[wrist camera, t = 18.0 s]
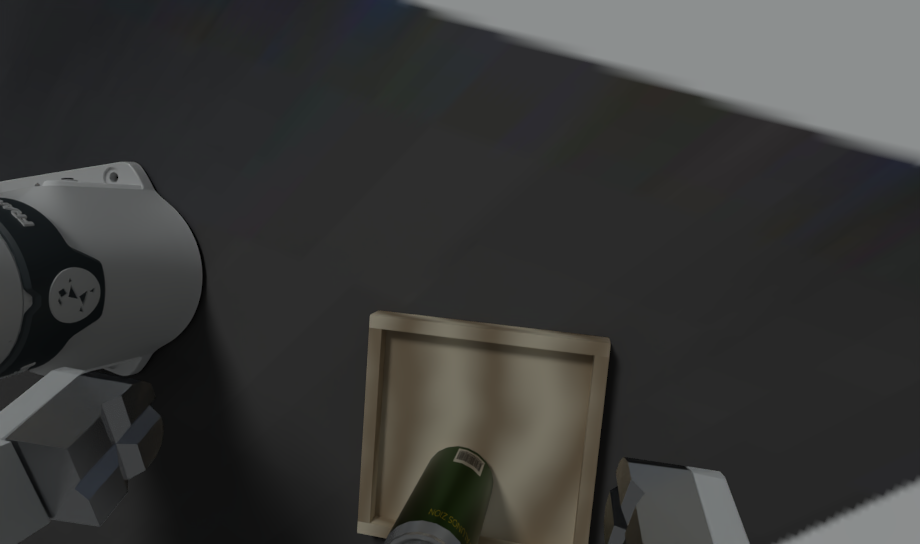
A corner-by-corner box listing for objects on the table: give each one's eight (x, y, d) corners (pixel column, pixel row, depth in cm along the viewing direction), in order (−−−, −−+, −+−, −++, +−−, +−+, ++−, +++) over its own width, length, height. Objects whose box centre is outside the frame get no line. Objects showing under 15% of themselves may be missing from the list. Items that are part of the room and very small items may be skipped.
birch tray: (366, 519, 45) (357, 532, 43) (378, 310, 43) (370, 314, 41) (583, 561, 41) (584, 578, 39) (608, 337, 39) (610, 343, 37)
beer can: (438, 432, 42) (387, 516, 30) (503, 456, 41) (477, 551, 29) (420, 492, 43) (365, 597, 31) (484, 517, 42) (451, 633, 30)
